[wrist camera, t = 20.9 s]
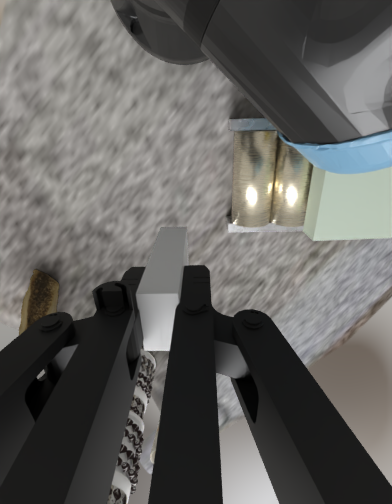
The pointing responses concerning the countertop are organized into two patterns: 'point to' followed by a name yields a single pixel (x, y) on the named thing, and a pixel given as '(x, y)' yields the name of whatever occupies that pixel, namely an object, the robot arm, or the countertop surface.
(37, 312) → the rock
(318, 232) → the slab
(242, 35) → the robot arm
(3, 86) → the countertop surface
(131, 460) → the decorative candle
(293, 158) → the roller bed
